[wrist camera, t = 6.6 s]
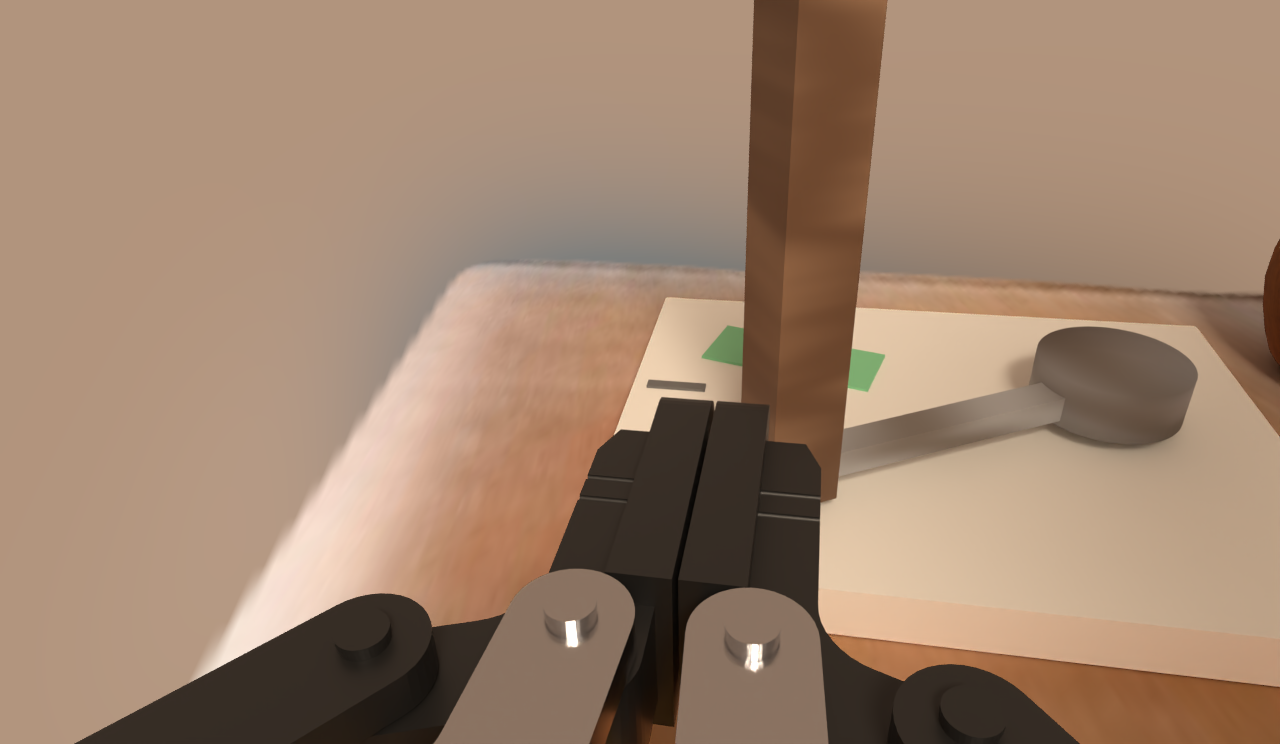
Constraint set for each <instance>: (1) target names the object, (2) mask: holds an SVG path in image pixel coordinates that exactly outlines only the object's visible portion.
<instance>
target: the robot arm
mask: <svg viewBox="0 0 1280 744" xmlns="http://www.w3.org/2000/svg"><path fill="white" fill-rule="evenodd" d="M769 419H770V405H766V404H753V403H739V402H726V401H717V403H716V407H715V408H714V401H709V400H696V399H683V398H669V397H661V399H660V401H659V403H658V406H657V410H656V413H655V416H654V419H653V422H652V425H651V428H650V431H649V432H648V431H636V430H624V429H621V430H620V431H618V432H617V433H616V434H615V435H614V436H613V437H612V438H610V439H609V440H608V441H607V442H606V443H605V444H604V445H602V446H601V447H600V448H599V449H598V450H597V453H596V455H595V458H594V460H593V463H592V465H591V468H590V470H589V473H588V479H586V481H585V483H584V486H583V488H582V491H581V493H580V499H579V500H578V501H577V503H576V506H575V508H574V511H573V513H572V516H571V518H570V521H569V523H568V526H567V528H566V531H565V533H564V536H563V539H562V541H561V544H560V546H559V549H558V551H557V554H556V556H555V559H554V561H553V564H552V566H551V569H550V571H549V573H548V574H546V575H543V576H541V577H539V578H537V579H535V580H533V581H531V582H530V583H529V584H527V585H526V586H525V587H523V588H522V589H521V590H520V591H519V592H518V593H517V594H516V596H515V597H514V599H513V600H512V602H511V603H510V605H509V607H508V609H507V611H506V613H504V614H502V615H499V616H496V617H493V618H489V619H484V620H479V621H473V622H466V623H459V624H452V625H445V626H437V627H432V625H431V621H430V618H429V616H428V614H427V612H426V611H425V610H424V608H423V607H422V606H420V605H419V604H418V603H417V602H415V601H413V600H411V599H410V598H407V597H404V596H401V595H395V594H370V595H365V596H360V597H356V598H353V599H350V600H347V601H345V602H343V603H341V604H338V605H336V606H334V607H332V608H331V609H329V610H327V611H325V612H323V613H321V614H319V615H317V616H315V617H314V618H312V619H310V620H308V621H306V622H304V623H302V624H300V625H298V626H296V627H295V628H293V629H291V630H289V631H287V632H285V633H283V634H281V635H279V636H278V637H276V638H274V639H272V640H270V641H268V642H266V643H264V644H262V645H260V646H259V647H257V648H255V649H253V650H251V651H249V652H247V653H245V654H243V655H242V656H240V657H238V658H236V659H234V660H232V661H230V662H228V663H226V664H225V665H223V666H221V667H219V668H217V669H215V670H213V671H211V672H209V673H207V674H206V675H204V676H202V677H200V678H198V679H196V680H194V681H192V682H190V683H189V684H187V685H185V686H183V687H181V688H179V689H177V690H175V691H173V692H171V693H170V694H168V695H166V696H164V697H162V698H160V699H158V700H156V701H154V702H153V703H151V704H149V705H147V706H145V707H143V708H142V709H139V710H137V711H136V712H134V713H132V714H130V715H128V716H126V717H124V718H122V719H120V720H118V721H117V722H115V723H113V724H111V725H109V726H107V727H105V728H103V729H101V730H100V731H98V732H96V733H94V734H92V735H90V736H88V737H86V738H84V739H82V740H81V741H79V742H77V743H75V744H648V743H649V739H650V734H651V729H652V724H658V725H665V726H672V727H674V725H675V720H676V715H677V709H678V718H677V729H676V740H675V744H1079V743H1078V742H1077V741H1076V740H1075V739H1074V738H1073V737H1072V736H1071V735H1069V734H1068V733H1067V732H1066V731H1065V730H1064V729H1063V728H1062V727H1061V726H1060V725H1058V724H1057V723H1056V722H1055V721H1054V720H1053V719H1052V718H1051V717H1050V716H1048V715H1047V714H1046V713H1045V712H1044V711H1043V710H1042V709H1041V708H1040V707H1038V706H1037V705H1036V704H1035V703H1034V702H1033V701H1032V700H1031V699H1030V698H1029V697H1027V696H1026V695H1025V694H1024V693H1023V692H1021V691H1020V690H1019V689H1018V688H1016V687H1015V686H1014V685H1012V684H1011V683H1009V682H1008V681H1006V680H1004V679H1003V678H1001V677H999V676H996V675H994V674H992V673H990V672H987V671H984V670H981V669H978V668H974V667H970V666H965V665H954V664H947V665H936V666H931V667H927V668H925V669H922V670H919V671H917V672H916V673H914V674H912V675H911V676H909V677H908V678H907V679H906V680H905V681H901V680H899V679H896V678H894V677H891V676H889V675H886V674H884V673H881V672H878V671H876V670H874V669H871V668H869V667H867V666H865V665H863V664H861V663H859V662H858V661H856V660H854V659H853V658H851V657H850V656H849V655H847V654H846V653H845V652H843V651H842V650H841V649H840V648H839V647H838V646H837V645H836V644H835V643H834V642H833V641H832V639H831V638H830V637H829V635H828V634H827V633H826V631H825V629H824V627H823V625H822V623H821V619H820V616H819V609H818V590H819V548H820V506H821V501H820V499H821V467H820V466H819V464H818V462H817V461H816V459H815V458H814V456H813V454H812V453H811V451H810V450H809V448H808V446H807V445H806V444H798V443H786V442H773V441H768V439H769ZM678 704H679V707H678Z"/></svg>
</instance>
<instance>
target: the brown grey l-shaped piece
mask: <svg viewBox="0 0 1280 744" xmlns="http://www.w3.org/2000/svg"><path fill="white" fill-rule="evenodd" d="M886 9H887V0H754V21H753V23H754V24H753V52H752V83H751V115H750V116H751V117H750V145H749V147H750V148H749V177H748V179H749V180H748V207H747V238H746V270H745V301H744V332H743V363H742V394H741V403H753V404H766V405H770V419H769V439H768V441H773V442H786V443H798V444H806V445H807V446H808V448H809V450H810V451H811V453H812V454H813V456H814V458H815V459H816V461H817V462H818V464H819V466H820V467H821V499H820V501H821V502H824V501H828V500H832V499H836V497H837V488H838V478H839V476H843V475H847V474H851V473H855V472H859V471H863V470H867V469H871V468H875V467H879V466H883V465H887V464H891V463H895V462H899V461H903V460H907V459H911V458H915V457H919V456H922V455H926V454H930V453H934V452H938V451H942V450H946V449H950V448H954V447H958V446H962V445H966V444H970V443H974V442H978V441H982V440H986V439H990V438H994V437H998V436H1002V435H1006V434H1010V433H1014V432H1018V431H1022V430H1026V429H1030V428H1034V427H1038V426H1042V425H1046V424H1050V423H1053V424H1055V425H1057V426H1058V427H1060V428H1062V429H1065V430H1067V431H1069V432H1072V433H1074V434H1077V435H1080V436H1083V437H1086V438H1090V439H1094V440H1098V441H1103V442H1109V443H1117V444H1132V445H1133V444H1149V443H1155V442H1160V441H1163V440H1166V439H1168V438H1170V437H1172V436H1174V435H1175V434H1176V433H1177V432H1178V431H1179V430H1180V429H1181V427H1182V424H1183V421H1184V418H1185V415H1186V412H1187V409H1188V406H1189V403H1190V400H1191V397H1192V394H1193V391H1194V388H1195V385H1196V382H1197V379H1198V372H1197V369H1196V367H1195V365H1194V364H1193V363H1192V361H1191V360H1190V359H1189V358H1188V357H1187V356H1185V355H1184V354H1183V353H1181V352H1180V351H1179V350H1177V349H1175V348H1173V347H1172V346H1170V345H1168V344H1166V343H1164V342H1161V341H1159V340H1156V339H1154V338H1151V337H1148V336H1145V335H1142V334H1138V333H1134V332H1130V331H1126V330H1120V329H1115V328H1107V327H1091V326H1084V327H1070V328H1065V329H1060V330H1056V331H1054V332H1051V333H1049V334H1047V335H1046V336H1044V337H1043V338H1042V339H1041V340H1040V341H1039V343H1038V346H1037V350H1036V354H1035V359H1034V363H1033V368H1032V372H1031V377H1030V381H1029V385H1028V386H1024V387H1020V388H1016V389H1011V390H1007V391H1003V392H999V393H994V394H990V395H986V396H982V397H977V398H973V399H969V400H965V401H960V402H956V403H952V404H948V405H943V406H939V407H935V408H931V409H926V410H922V411H918V412H914V413H909V414H905V415H901V416H897V417H892V418H888V419H884V420H880V421H875V422H871V423H867V424H863V425H858V426H854V427H850V428H845V429H844V419H845V410H846V400H847V390H848V380H849V371H850V361H851V351H852V341H853V331H854V322H855V312H856V302H857V292H858V283H859V273H860V262H861V253H862V244H863V234H864V223H865V214H866V205H867V195H868V185H869V175H870V166H871V156H872V146H873V136H874V126H875V117H876V107H877V96H878V88H879V78H880V67H881V58H882V49H883V39H884V29H885V19H886Z"/></svg>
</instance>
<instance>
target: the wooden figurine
mask: <svg viewBox="0 0 1280 744" xmlns="http://www.w3.org/2000/svg"><path fill="white" fill-rule="evenodd" d="M1263 312H1264V325H1265V332H1266V337H1267V341H1268V346H1269V350H1270V352H1271V354H1272V355H1273V357H1274V359H1275V361H1276V362H1277V363H1278V364H1279V366H1280V240H1279V241H1278V243H1277V245H1276V247H1275V249H1274V252H1273V255H1272V258H1271V260H1270V263H1269V266H1268V269H1267V272H1266V275H1265V284H1264V297H1263Z"/></svg>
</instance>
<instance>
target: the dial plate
mask: <svg viewBox="0 0 1280 744" xmlns="http://www.w3.org/2000/svg"><path fill="white" fill-rule="evenodd" d="M1084 326H1091V327H1107V328H1115V329H1120V330H1126V331H1130V332H1134V333H1138V334H1142V335H1145V336H1148V337H1151V338H1154V339H1156V340H1159V341H1161V342H1164V343H1166V344H1168V345H1170V346H1172V347H1173V348H1175V349H1177V350H1179V351H1180V352H1181V353H1183V354H1184V355H1185V356H1187V357H1188V358H1189V359H1190V360H1191V361H1192V363H1193V364H1194V365H1195V367H1196V369H1197V372H1198V379H1197V382H1196V385H1195V388H1194V391H1193V394H1192V397H1191V400H1190V403H1189V406H1188V409H1187V412H1186V415H1185V418H1184V421H1183V424H1182V427H1181V429H1180V430H1179V431H1178V432H1177V433H1176V434H1175V435H1174V436H1172V437H1170V438H1168V439H1166V440H1163V441H1160V442H1155V443H1149V444H1133V445H1132V444H1117V443H1109V442H1103V441H1098V440H1094V439H1090V438H1086V437H1083V436H1080V435H1077V434H1074V433H1072V432H1069V431H1067V430H1065V429H1062V428H1060V427H1058V426H1057V425H1055V424H1053V423H1050V424H1046V425H1042V426H1038V427H1034V428H1030V429H1026V430H1022V431H1018V432H1014V433H1010V434H1006V435H1002V436H998V437H994V438H990V439H986V440H982V441H978V442H974V443H970V444H966V445H962V446H958V447H954V448H950V449H946V450H942V451H938V452H934V453H930V454H926V455H922V456H919V457H915V458H911V459H907V460H903V461H899V462H895V463H891V464H887V465H883V466H879V467H875V468H871V469H867V470H863V471H859V472H855V473H851V474H847V475H843V476H839V478H838V488H837V497H836V499H832V500H828V501H824V502H821V506H820V548H819V590H818V609H819V616H820V619H821V623H822V625H823V627H824V629H825V631H826V633H829V634H837V635H846V636H854V637H862V638H871V639H879V640H888V641H896V642H905V643H913V644H922V645H930V646H938V647H947V648H955V649H964V650H972V651H981V652H989V653H998V654H1006V655H1014V656H1023V657H1031V658H1040V659H1048V660H1057V661H1065V662H1074V663H1082V664H1090V665H1099V666H1107V667H1116V668H1124V669H1133V670H1141V671H1150V672H1158V673H1166V674H1175V675H1183V676H1192V677H1200V678H1209V679H1217V680H1225V681H1234V682H1242V683H1251V684H1259V685H1268V686H1276V687H1280V437H1279V435H1278V434H1277V433H1276V431H1275V430H1274V429H1273V427H1272V426H1271V425H1270V423H1269V422H1268V421H1267V419H1266V418H1265V417H1264V415H1263V414H1262V413H1261V412H1260V410H1259V409H1258V408H1257V406H1256V405H1255V404H1254V402H1253V401H1252V400H1251V398H1250V397H1249V396H1248V394H1247V393H1246V392H1245V390H1244V389H1243V388H1242V386H1241V385H1240V384H1239V382H1238V381H1237V380H1236V378H1235V377H1234V376H1233V374H1232V373H1231V372H1230V370H1229V369H1228V368H1227V367H1226V365H1225V364H1224V363H1223V361H1222V360H1221V359H1220V357H1219V356H1218V355H1217V353H1216V352H1215V351H1214V349H1213V348H1212V347H1211V345H1210V344H1209V343H1208V341H1207V340H1206V339H1205V337H1204V336H1203V335H1202V333H1201V332H1200V331H1199V329H1198V328H1197V327H1196V326H1185V325H1166V324H1148V323H1130V322H1111V321H1093V320H1074V319H1056V318H1038V317H1019V316H1001V315H982V314H964V313H946V312H927V311H909V310H891V309H872V308H856V312H855V322H854V331H853V341H852V351H851V361H850V371H849V380H848V390H847V400H846V410H845V419H844V429H845V428H850V427H854V426H858V425H863V424H867V423H871V422H875V421H880V420H884V419H888V418H892V417H897V416H901V415H905V414H909V413H914V412H918V411H922V410H926V409H931V408H935V407H939V406H943V405H948V404H952V403H956V402H960V401H965V400H969V399H973V398H977V397H982V396H986V395H990V394H994V393H999V392H1003V391H1007V390H1011V389H1016V388H1020V387H1024V386H1028V385H1029V381H1030V377H1031V372H1032V368H1033V363H1034V359H1035V354H1036V350H1037V346H1038V343H1039V341H1040V340H1041V339H1042V338H1043V337H1044V336H1046V335H1047V334H1049V333H1051V332H1054V331H1056V330H1060V329H1065V328H1070V327H1084ZM743 332H744V301H725V300H707V299H688V298H670V297H666V299H665V302H664V305H663V307H662V310H661V312H660V315H659V318H658V320H657V323H656V326H655V328H654V331H653V333H652V336H651V339H650V341H649V344H648V347H647V349H646V352H645V355H644V357H643V360H642V362H641V365H640V368H639V370H638V373H637V376H636V378H635V381H634V384H633V386H632V389H631V391H630V394H629V397H628V399H627V402H626V405H625V407H624V410H623V413H622V415H621V418H620V420H619V423H618V426H617V428H616V431H615V434H616V433H617V432H618V431H620V430H621V429H624V430H636V431H648V432H649V431H650V428H651V425H652V422H653V419H654V416H655V413H656V410H657V406H658V403H659V401H660V399H661V397H669V398H683V399H696V400H709V401H714V408H715V407H716V403H717V401H726V402H739V403H741V394H742V363H743ZM615 434H614V435H615Z"/></svg>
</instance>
